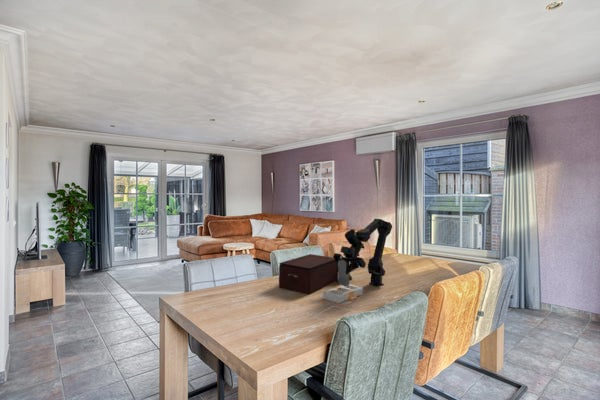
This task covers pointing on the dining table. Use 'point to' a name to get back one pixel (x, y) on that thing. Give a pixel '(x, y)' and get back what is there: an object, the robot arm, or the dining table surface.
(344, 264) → the graphite panel
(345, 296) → the frame
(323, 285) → the storage box
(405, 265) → the dining table surface
